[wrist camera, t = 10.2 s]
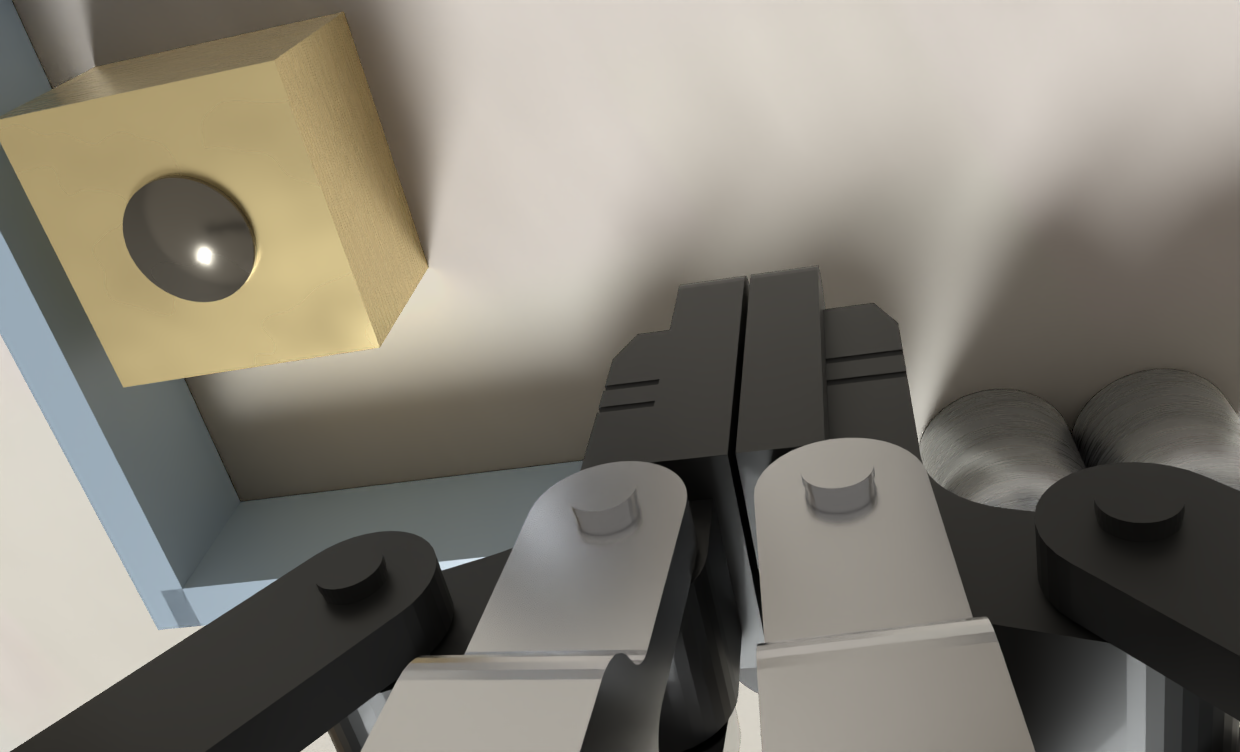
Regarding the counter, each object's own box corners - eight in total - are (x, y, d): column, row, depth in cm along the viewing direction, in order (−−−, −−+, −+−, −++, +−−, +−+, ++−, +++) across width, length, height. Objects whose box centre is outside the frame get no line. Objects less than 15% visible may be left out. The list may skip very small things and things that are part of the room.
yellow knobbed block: (346, 9, 20) (270, 63, 17) (430, 263, 22) (377, 351, 19) (99, 64, 21) (-17, 124, 18) (205, 301, 23) (119, 391, 20)
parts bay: (386, -363, 17) (319, -379, 14) (612, 496, 24) (594, 587, 22) (-145, -216, 19) (-289, -207, 16) (217, 540, 26) (157, 629, 24)
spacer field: (1342, -782, 14) (1610, -1016, 9) (1256, 485, 23) (1373, 663, 18) (259, -455, 17) (84, -520, 12) (562, 557, 25) (521, 726, 21)
